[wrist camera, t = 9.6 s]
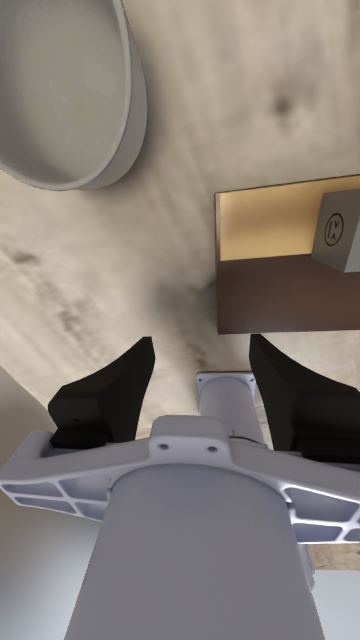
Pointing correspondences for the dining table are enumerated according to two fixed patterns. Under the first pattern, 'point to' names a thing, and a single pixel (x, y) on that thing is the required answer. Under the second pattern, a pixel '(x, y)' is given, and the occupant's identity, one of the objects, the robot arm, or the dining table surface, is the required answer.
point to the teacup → (69, 93)
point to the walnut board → (279, 262)
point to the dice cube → (339, 231)
